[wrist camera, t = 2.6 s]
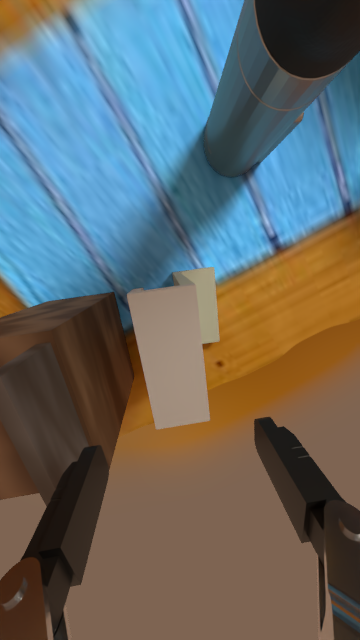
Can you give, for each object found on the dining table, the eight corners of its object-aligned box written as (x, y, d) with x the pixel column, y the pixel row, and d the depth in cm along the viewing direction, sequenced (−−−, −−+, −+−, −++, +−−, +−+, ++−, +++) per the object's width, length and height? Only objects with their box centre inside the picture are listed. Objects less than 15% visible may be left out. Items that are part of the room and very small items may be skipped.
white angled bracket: (211, 266, 34) (268, 274, 15) (216, 337, 39) (266, 411, 20) (148, 275, 34) (126, 294, 15) (160, 345, 38) (156, 429, 19)
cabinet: (114, 292, 34) (0, 361, 11) (134, 376, 40) (88, 546, 16) (47, 301, 34) (-225, 395, 10) (77, 385, 40) (-56, 572, 16)
